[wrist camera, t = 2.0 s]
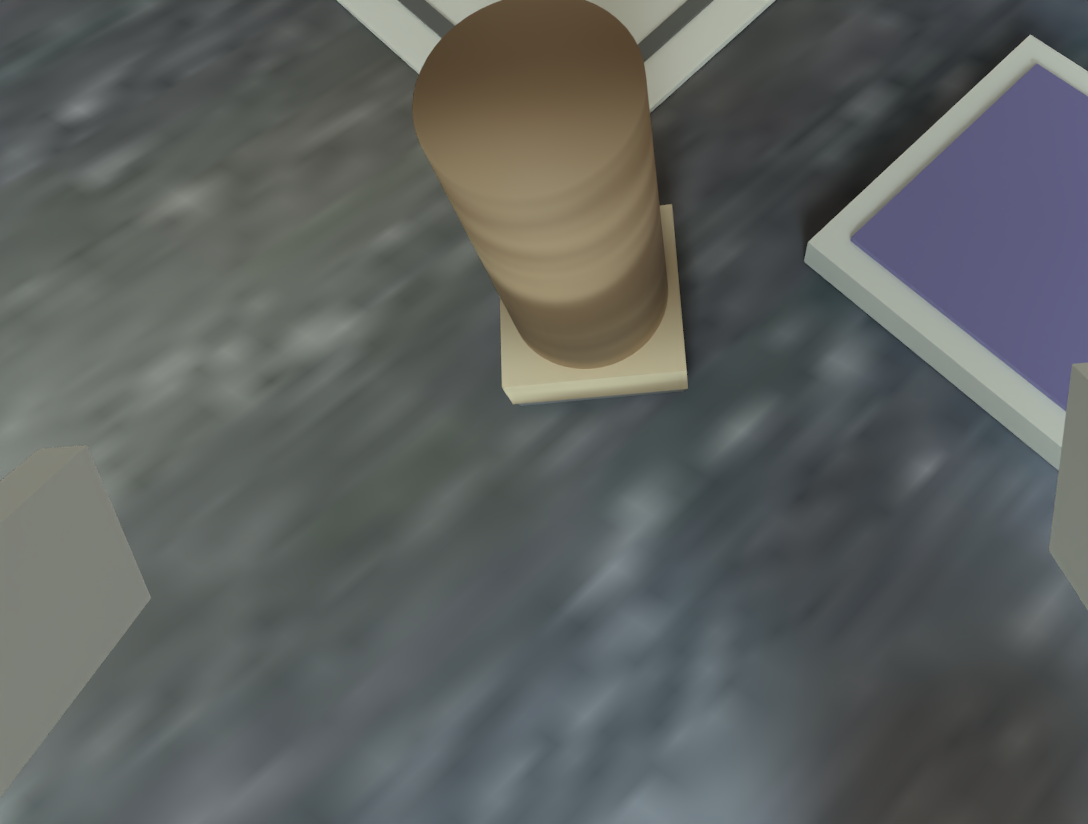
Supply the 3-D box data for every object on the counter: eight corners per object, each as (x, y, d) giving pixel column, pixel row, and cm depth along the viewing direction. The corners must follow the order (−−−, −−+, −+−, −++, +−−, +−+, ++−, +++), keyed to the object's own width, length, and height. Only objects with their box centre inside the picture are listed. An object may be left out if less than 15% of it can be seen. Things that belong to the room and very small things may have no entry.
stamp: (688, 394, 26) (673, 193, 16) (516, 409, 27) (395, 227, 17) (674, 237, 28) (652, -39, 17) (512, 256, 28) (398, 2, 18)
